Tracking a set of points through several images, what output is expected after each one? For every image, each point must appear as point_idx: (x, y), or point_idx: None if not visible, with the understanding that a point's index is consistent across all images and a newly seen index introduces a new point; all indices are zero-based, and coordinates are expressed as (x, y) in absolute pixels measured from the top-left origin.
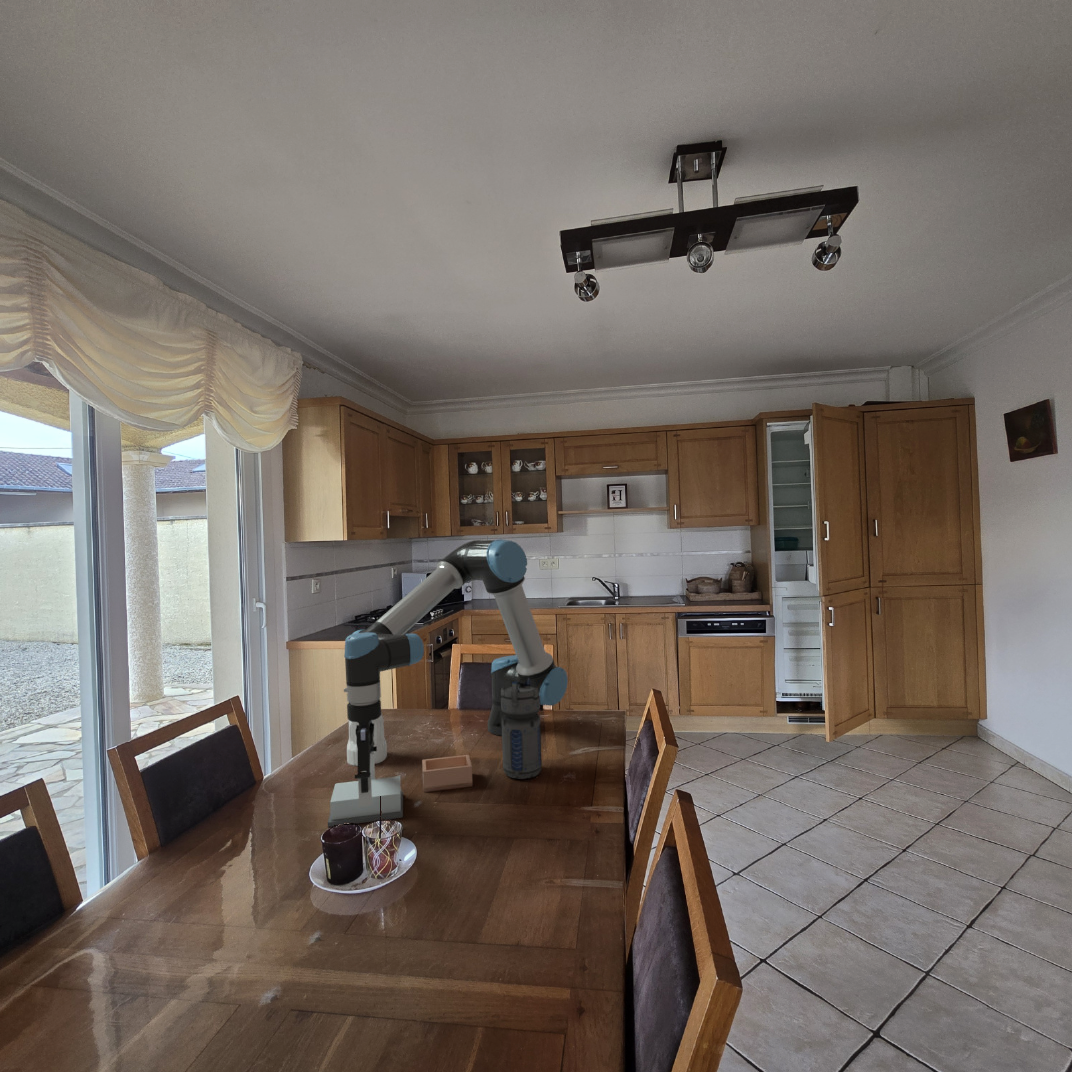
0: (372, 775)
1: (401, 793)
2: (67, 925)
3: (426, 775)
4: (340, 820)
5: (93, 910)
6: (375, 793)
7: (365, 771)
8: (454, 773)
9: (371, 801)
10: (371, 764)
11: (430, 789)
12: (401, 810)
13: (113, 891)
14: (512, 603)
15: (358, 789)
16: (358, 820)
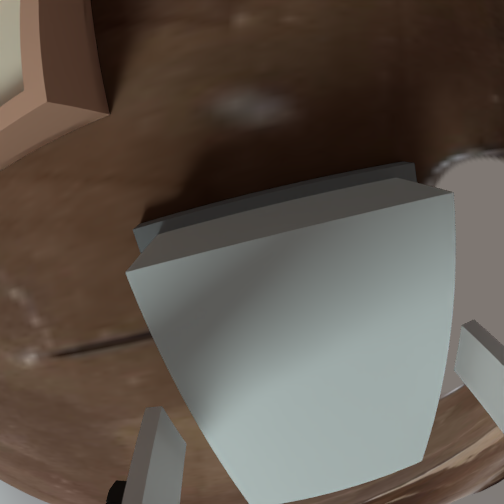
0: (163, 436)
1: (172, 226)
2: (491, 482)
3: (59, 83)
4: None
5: (480, 486)
6: (416, 350)
7: (175, 479)
8: None
9: (483, 330)
10: (153, 493)
11: (99, 79)
12: (389, 173)
13: (456, 500)
14: None
15: (335, 440)
16: None
